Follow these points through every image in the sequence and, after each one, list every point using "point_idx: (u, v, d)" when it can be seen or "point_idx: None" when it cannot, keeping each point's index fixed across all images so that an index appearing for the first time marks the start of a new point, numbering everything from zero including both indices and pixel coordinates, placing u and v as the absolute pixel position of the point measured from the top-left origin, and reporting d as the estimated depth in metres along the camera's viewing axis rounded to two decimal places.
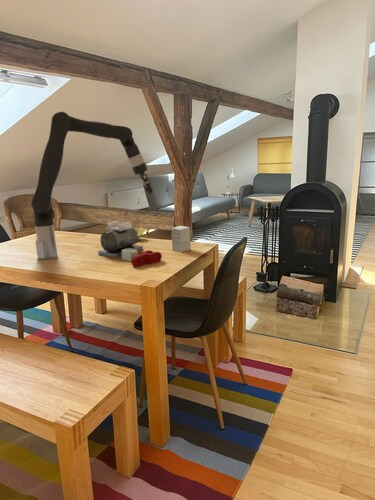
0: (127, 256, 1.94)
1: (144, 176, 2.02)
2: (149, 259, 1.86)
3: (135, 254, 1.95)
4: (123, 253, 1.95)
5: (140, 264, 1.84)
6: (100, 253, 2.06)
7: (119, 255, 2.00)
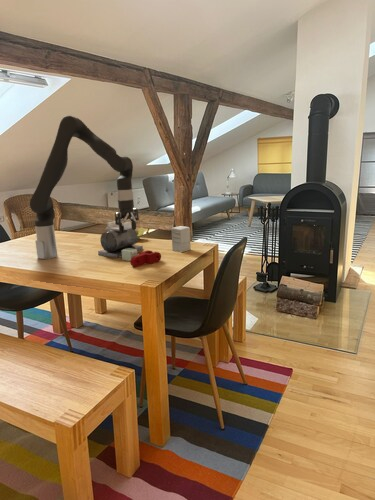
0: (127, 256, 1.94)
1: (116, 214, 1.85)
2: (148, 259, 1.86)
3: (135, 254, 1.95)
4: (123, 253, 1.95)
5: (139, 264, 1.84)
6: (100, 253, 2.06)
7: (119, 255, 2.00)
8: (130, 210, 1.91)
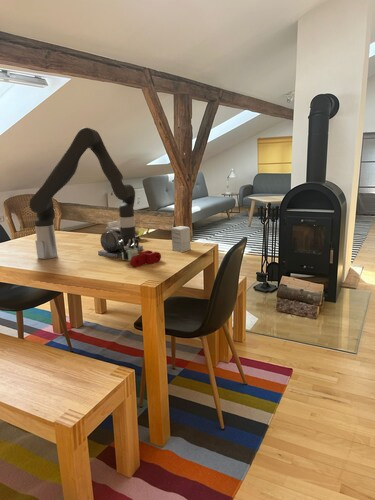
0: None
1: (119, 243, 1.89)
2: (148, 259, 1.86)
3: (135, 254, 1.95)
4: None
5: (139, 264, 1.84)
6: (100, 253, 2.06)
7: (119, 255, 2.00)
8: (132, 236, 1.95)
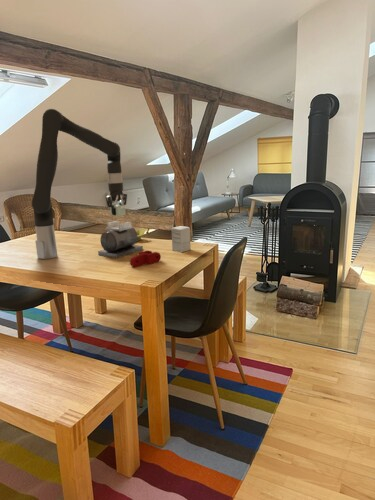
0: None
1: (107, 198, 1.98)
2: (148, 259, 1.86)
3: (123, 210, 2.04)
4: None
5: (139, 264, 1.84)
6: (100, 253, 2.06)
7: (119, 255, 2.00)
8: (120, 193, 2.04)
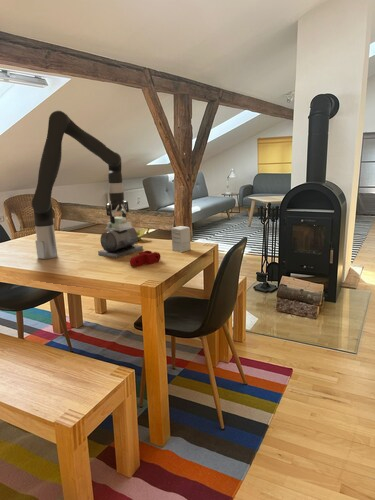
0: (116, 223, 2.05)
1: (107, 205, 1.99)
2: (148, 259, 1.86)
3: (124, 222, 2.06)
4: None
5: (139, 264, 1.84)
6: (100, 253, 2.06)
7: (119, 255, 2.00)
8: (120, 202, 2.05)
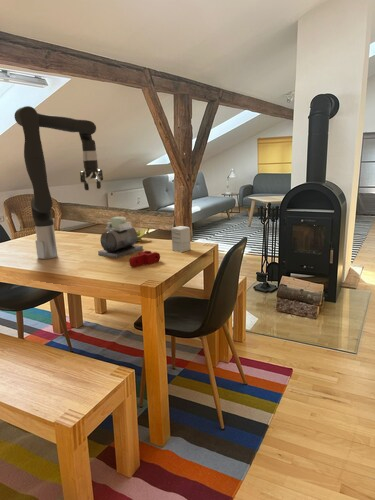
0: (116, 223, 2.05)
1: (81, 172, 2.07)
2: (147, 259, 1.86)
3: (124, 222, 2.06)
4: (113, 220, 2.05)
5: (138, 264, 1.84)
6: (100, 253, 2.06)
7: (119, 255, 2.00)
8: (94, 170, 2.13)
